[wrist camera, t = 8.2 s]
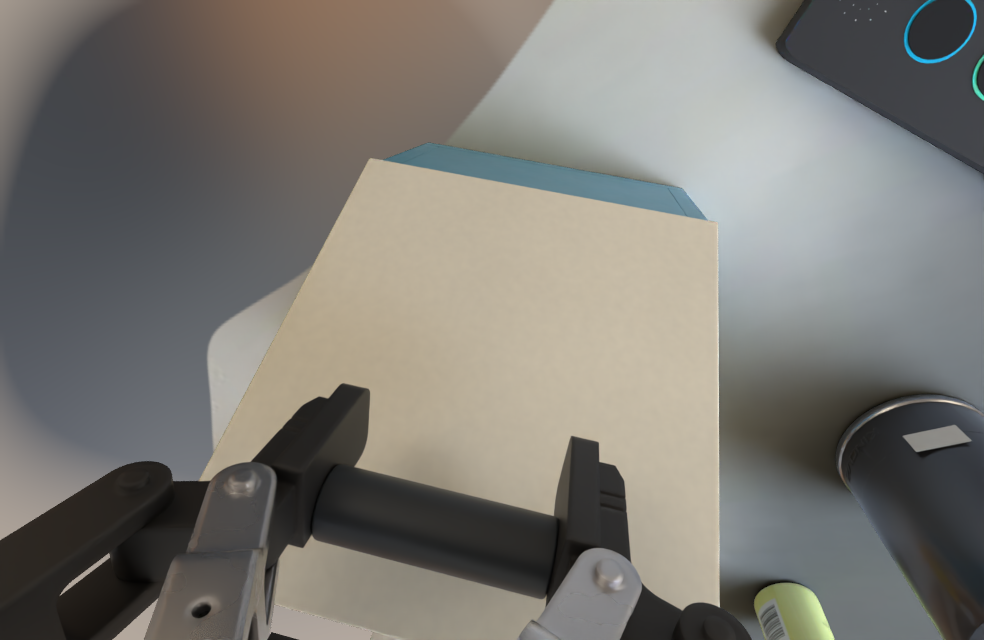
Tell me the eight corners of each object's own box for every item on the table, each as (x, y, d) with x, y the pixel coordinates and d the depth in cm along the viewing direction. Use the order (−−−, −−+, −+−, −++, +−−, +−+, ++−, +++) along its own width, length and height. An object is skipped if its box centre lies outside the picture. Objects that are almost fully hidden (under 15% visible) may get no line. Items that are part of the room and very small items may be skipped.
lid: (709, 724, 14) (817, 760, 10) (163, 574, 15) (41, 544, 11) (711, 234, 23) (767, 138, 19) (372, 170, 25) (350, 68, 20)
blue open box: (613, 414, 39) (617, 502, 31) (408, 368, 40) (361, 440, 32) (682, 188, 31) (713, 225, 23) (427, 142, 33) (374, 162, 25)
